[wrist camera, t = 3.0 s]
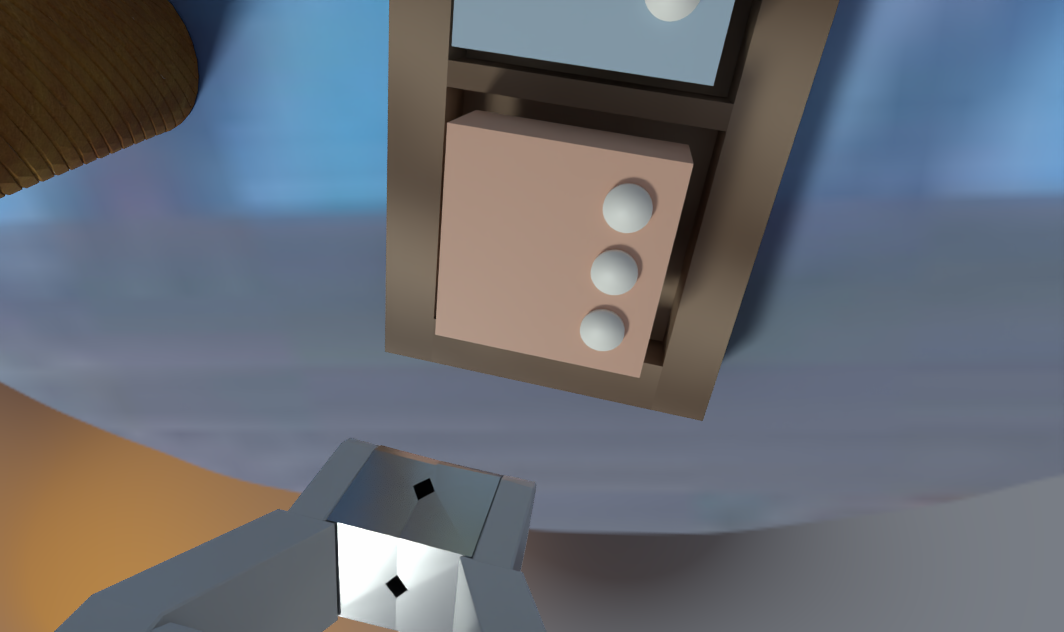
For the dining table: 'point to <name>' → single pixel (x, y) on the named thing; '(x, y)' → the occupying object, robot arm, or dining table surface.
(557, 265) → the tile three
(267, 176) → the dining table surface
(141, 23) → the disposable coffee cup
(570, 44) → the tile two
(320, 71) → the dining table surface
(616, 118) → the key frame
